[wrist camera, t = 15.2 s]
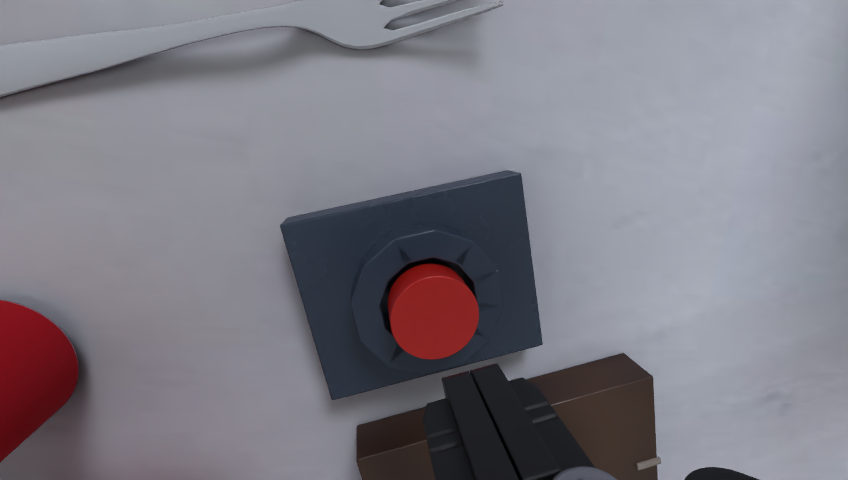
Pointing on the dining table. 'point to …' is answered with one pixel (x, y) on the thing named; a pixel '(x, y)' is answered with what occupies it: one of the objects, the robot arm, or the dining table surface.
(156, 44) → the fork
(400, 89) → the dining table surface
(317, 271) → the button box
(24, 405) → the beverage can
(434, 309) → the red button
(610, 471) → the control panel
